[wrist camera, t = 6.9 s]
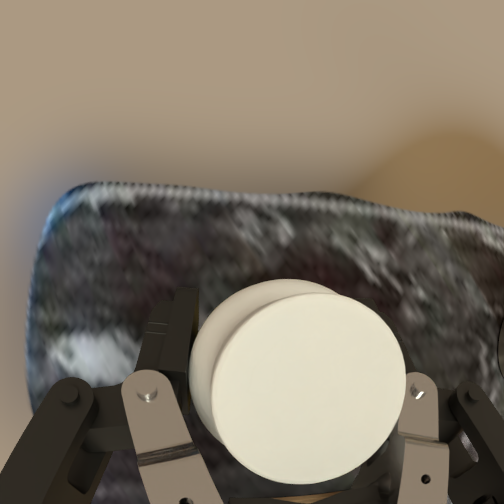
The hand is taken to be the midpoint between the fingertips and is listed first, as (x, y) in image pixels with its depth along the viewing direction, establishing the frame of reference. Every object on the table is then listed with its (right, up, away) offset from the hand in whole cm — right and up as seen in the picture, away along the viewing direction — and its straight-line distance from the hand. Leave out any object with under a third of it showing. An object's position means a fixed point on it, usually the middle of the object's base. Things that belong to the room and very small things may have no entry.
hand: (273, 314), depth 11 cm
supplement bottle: (-1, -3, +4) cm, 5 cm away
